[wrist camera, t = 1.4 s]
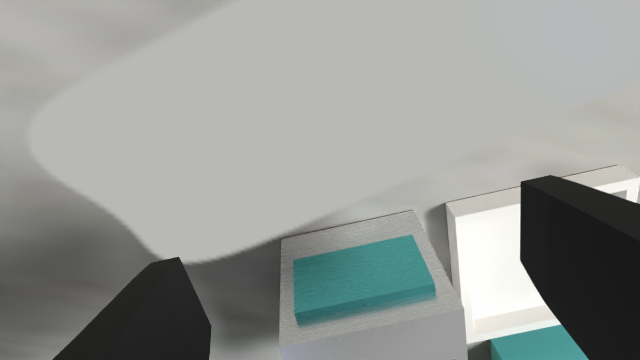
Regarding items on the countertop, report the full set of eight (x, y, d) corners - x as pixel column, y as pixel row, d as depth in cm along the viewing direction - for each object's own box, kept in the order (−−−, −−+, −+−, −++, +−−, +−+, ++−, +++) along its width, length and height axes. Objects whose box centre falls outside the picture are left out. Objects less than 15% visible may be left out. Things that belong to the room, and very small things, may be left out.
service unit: (424, 294, 17) (471, 407, 13) (306, 319, 18) (313, 439, 13) (412, 203, 15) (463, 300, 11) (279, 232, 16) (275, 339, 11)
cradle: (602, 295, 18) (618, 312, 17) (456, 326, 18) (464, 344, 17) (620, 164, 15) (640, 177, 14) (445, 202, 15) (455, 217, 15)
